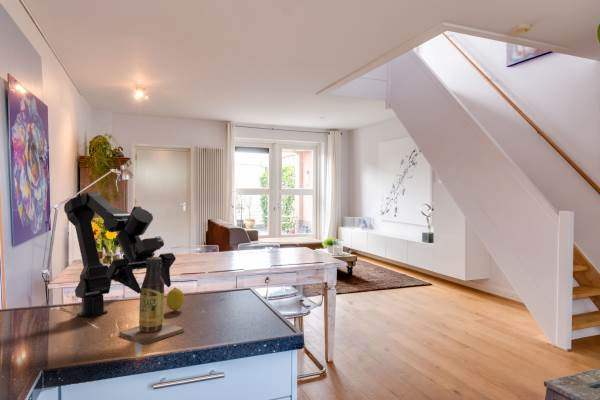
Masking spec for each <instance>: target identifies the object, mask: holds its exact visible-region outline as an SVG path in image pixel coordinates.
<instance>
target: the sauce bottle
mask: <svg viewBox="0 0 600 400" xmlns="http://www.w3.org/2000/svg"><path fill="white" fill-rule="evenodd" d="M161 261H162V259H161V258H160V257H159V256H153V257H149V258H146V268H145V275H144V277H143V281H142V284H141V287H140V289H141V292H140V293H139V294H140V295H139V313H138V326H139V329H140V331H142V332H155V331H158V330H160V329H161V328H162V324H163V322H164V311H165V310H164V309H165V308H164V306H165V284H164V280H163V278H162V277H161V274H160V273H161V271H160V268H161Z"/></svg>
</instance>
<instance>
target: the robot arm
mask: <svg viewBox="0 0 600 400" xmlns="http://www.w3.org/2000/svg"><path fill="white" fill-rule="evenodd" d="M63 209H64V213H65V214H66V218H67V220H68V221H69V222H70V224H72V225H73V226H74V227H75V228H74V229H75V233H76V237H77V241H78V247H79V252H80V256H81V260H82V265H83V268H82V271H81V273H80V275H79V282H78V283H77V286H76V287H75V289H74V294H75V297H76V298H80V299H81V312H78V313H77V314H76V315H77V316H79V317H85V318H93V317H96V316H99V315H104V314H107V313H108V312H109V311H108V310H105V306H104V305H105V300H104V295H108V294H110V290H111V285H112V281H113V282H118V283H120V284H121V285H123V286H125V287H127V288H129V289H130V290H132V291H133V292H135V293H137V294H140V292H141V287H140V284H139V283H138V280H137V279H136V276H135V274H134V270H143V269H145V270H146V258H149V257H155V255H156V254H155V252H156V251H158V250H160V249H161V248H162V247H164V245H165V242H164V239H163V238H162V237H161V236H154V237H151V238H148V237H147V238H143V239H142V238H141V237H140V236H143V235H145V233H146V232H147V229H148V228H149V226H150V225H151V223H152V222H153V220H154V216H153V214H152V213H151V212H149V211H148V210H146V209H143V208H142V207H141V206H139V205H138V206H133V208H132V210H131V212H129V211H127V210H123V209H119V208H117V207H115V206H114V205H113V204H111V202H109V201H108V200H106V198H104V197H103V196H102V194H101V193H99V192H89V191H88V192H84V193H82V194H80V195H78V196H76V197H72V198H70V199H69V200H67V202H65V203H64V206H63ZM95 215H97V216H99V217H100V218H101V219H102V220H103V223H102V225H103V226H104V228H105V229H106V230H107V232H109V233H117V235H116V236H115V239H114V243H113V244H114V246H120V248H121V251H122V253H123V254H122V258H118V259H117V258H116V259H112V261H111V262H110V264H109V265H107V264H105V265H104V264H103V263H101V259H100V255H99V250H98V245H97V241H96V238H95V233H94V229H93V228H94V227H93V223H92V221H93V219H94V218H95ZM158 257H160V258H161V259H162V261H161V268H160V271H161V273H160V274H161V277H162V278H163V280H164V286H166V287H167V288H170V287H171V285H172V282H171V281H172V280H171V272H170V268H171V267H172V265H173V264H174V263H175V261H176V259H177V258H176V256H175V255H174V253H173V252H166V253H160V254H159V256H158Z"/></svg>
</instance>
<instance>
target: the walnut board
mask: <svg viewBox="0 0 600 400" xmlns="http://www.w3.org/2000/svg"><path fill="white" fill-rule="evenodd" d="M184 332H185V327H181V326H178V325H174V324H171V323H168V322H164V321H163V324H162V328H161V329H160V330H158V331H155V332H142V331H140V329H139V325H138V326H134V327H131V328H128V329H123V330H121V331H119V332H118V333H119V336H120V337H123V338H125V339H128V340H131V341H134V342H136V343H139V344H142V345H145V346H146V345H149V344H152V343H154V342H158V341H160V340H163V339H167V338H169V337H173V336H174V335H175V336H177V335H178V334H180V333H181V334H182V333H184Z"/></svg>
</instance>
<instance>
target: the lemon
mask: <svg viewBox="0 0 600 400" xmlns="http://www.w3.org/2000/svg"><path fill="white" fill-rule="evenodd" d="M184 301H185V296H184V293H183V291H182V290H181V289H180V288H177V287H173V288H172V289H170V290H169V291H168V293H167V295H166V305H167V307H168V309H170V310H172V311H174V312H177V311H178V310H179V309H181V308H182V307H183V304H184Z"/></svg>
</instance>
